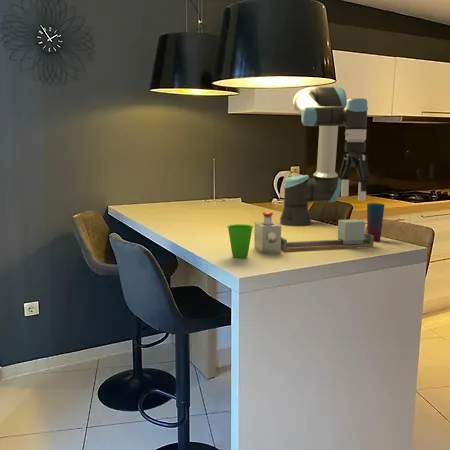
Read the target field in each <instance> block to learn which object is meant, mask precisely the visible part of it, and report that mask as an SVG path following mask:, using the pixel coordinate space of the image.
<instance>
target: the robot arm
mask: <svg viewBox="0 0 450 450" xmlns="http://www.w3.org/2000/svg"><path fill="white" fill-rule="evenodd" d="M292 104H293V105H292V106H293V108H294V110H295V111H296V112H298V113H299V114H301V117H300V118H301V124H302V125H303V126H306V127H307V126H308V127H318V128H319V129H318V145H317V162H316V163H317V164H316V171H315V172H314V173H313V176H312V178H311V177H310V176H309V175H307V174H301V175H294V176H288V177H286V179H285V180H284V185H283V189H284V190H283V191H284V192H283V194H284V195H283V196H284V197H283V209H282V212H281V216H280V219H279V223H280V225H285V226H296V227H298V226H309V225H311V224H312V217H311V214H310V210H309V203H334V202H336V201H337V200H338V199H339V197H342V198H343V197H345V198H346V197H349V189H350V188H349V187H350V177H349V176H350V175H351V172H352V171H353V169H355V171H356V173H357V176H358V179H359V181H358V192H357V201H366V199H367V183H369V182H371V174H370V170H369V163H368V156H367V154H363V153H365V152H366V146H367V143H366V142H365V141H366V140H367V126H368V125H367V122H368V120H367V119H368V109H369V107H368V100H367V98H362V97H361V98H349V99H348V98H347V93H346V90H345V89H344V88H342V87H337V86H336V87H335V86H328V87H327V86H325V87H324V86H323V87H322V86H320V87H319V86H318V87H314V86H310V87H306V88H304V89H301V90H299V91H298V92H296V94H295V95H294V98H293V101H292ZM339 127H345V132H344V135H345V138H344V140H345V142H344V152H345V153H343V156H342V162H341V165H340V169H339V173H337V172H336V160H337V147H338V133H339Z"/></svg>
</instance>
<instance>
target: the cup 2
mask: <svg viewBox="0 0 450 450" xmlns="http://www.w3.org/2000/svg"><path fill="white" fill-rule="evenodd" d="M384 213H385V203H382V202H368V203H366V214H367V215H366V220H367V222H366V227H367V228H366V229H367V230H366V231H367V232H366V233H367V234H370V235H373V236H374V241H378V242H381V237H382V228H383V222H384Z"/></svg>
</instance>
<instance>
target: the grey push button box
mask: <svg viewBox="0 0 450 450" xmlns="http://www.w3.org/2000/svg"><path fill="white" fill-rule="evenodd" d="M253 236H254V238H253V239H254V240H253V241H254V244H253V245H254V250H256V251H257V252H258V253H259V254H261V255H271V254H273V255H275V254H282V253H281V252H282V250H281V237H282V225H281V224H278V223H276V222H274V221H272V223H271V225H264V221H256V222H254V235H253Z"/></svg>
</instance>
